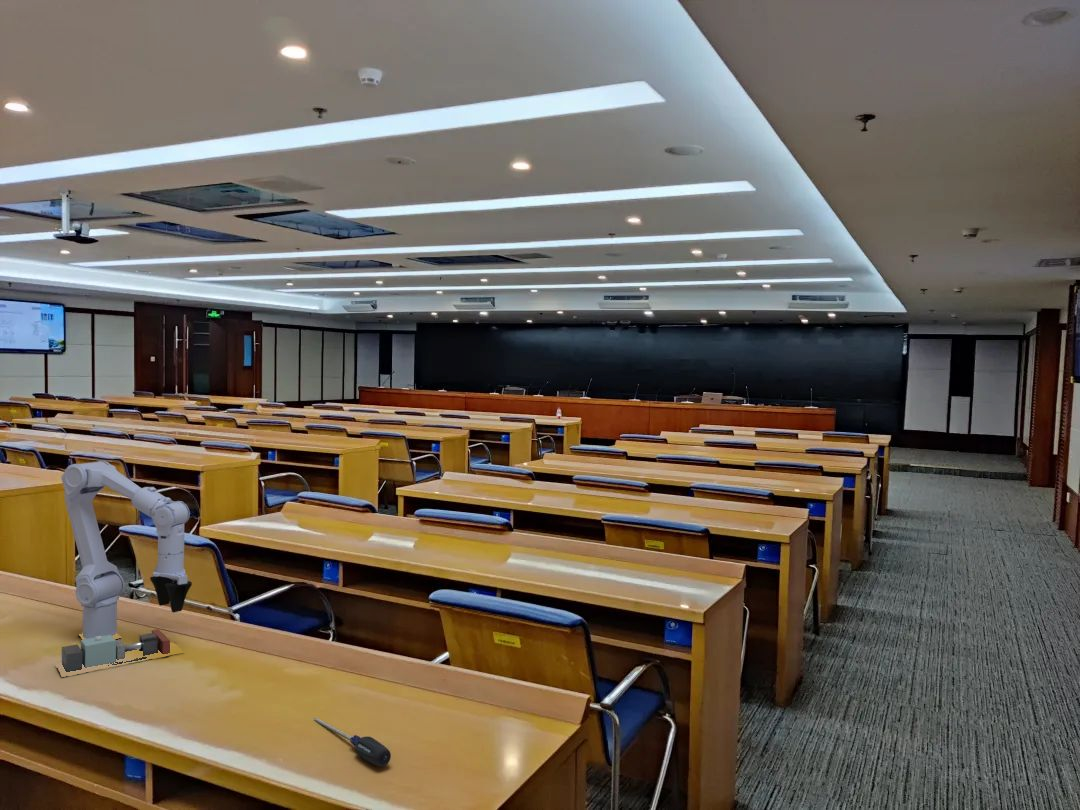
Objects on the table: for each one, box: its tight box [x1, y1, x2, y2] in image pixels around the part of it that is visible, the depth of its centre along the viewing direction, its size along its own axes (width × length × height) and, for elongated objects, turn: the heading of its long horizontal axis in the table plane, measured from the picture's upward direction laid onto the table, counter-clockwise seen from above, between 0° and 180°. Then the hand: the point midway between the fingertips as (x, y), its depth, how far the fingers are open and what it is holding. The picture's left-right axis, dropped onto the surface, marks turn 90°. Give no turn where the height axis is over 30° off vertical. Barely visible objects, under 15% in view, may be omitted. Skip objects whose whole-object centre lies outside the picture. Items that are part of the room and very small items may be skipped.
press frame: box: [61, 632, 158, 672], centre depth 173 cm, size 8×25×5 cm, turn 131°
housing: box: [80, 635, 116, 668], centre depth 170 cm, size 5×6×6 cm
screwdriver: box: [313, 717, 392, 767], centre depth 136 cm, size 26×4×4 cm, turn 43°
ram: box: [116, 628, 171, 660], centre depth 175 cm, size 10×10×3 cm
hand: (170, 608), depth 182 cm, fingers open, 7 cm apart
